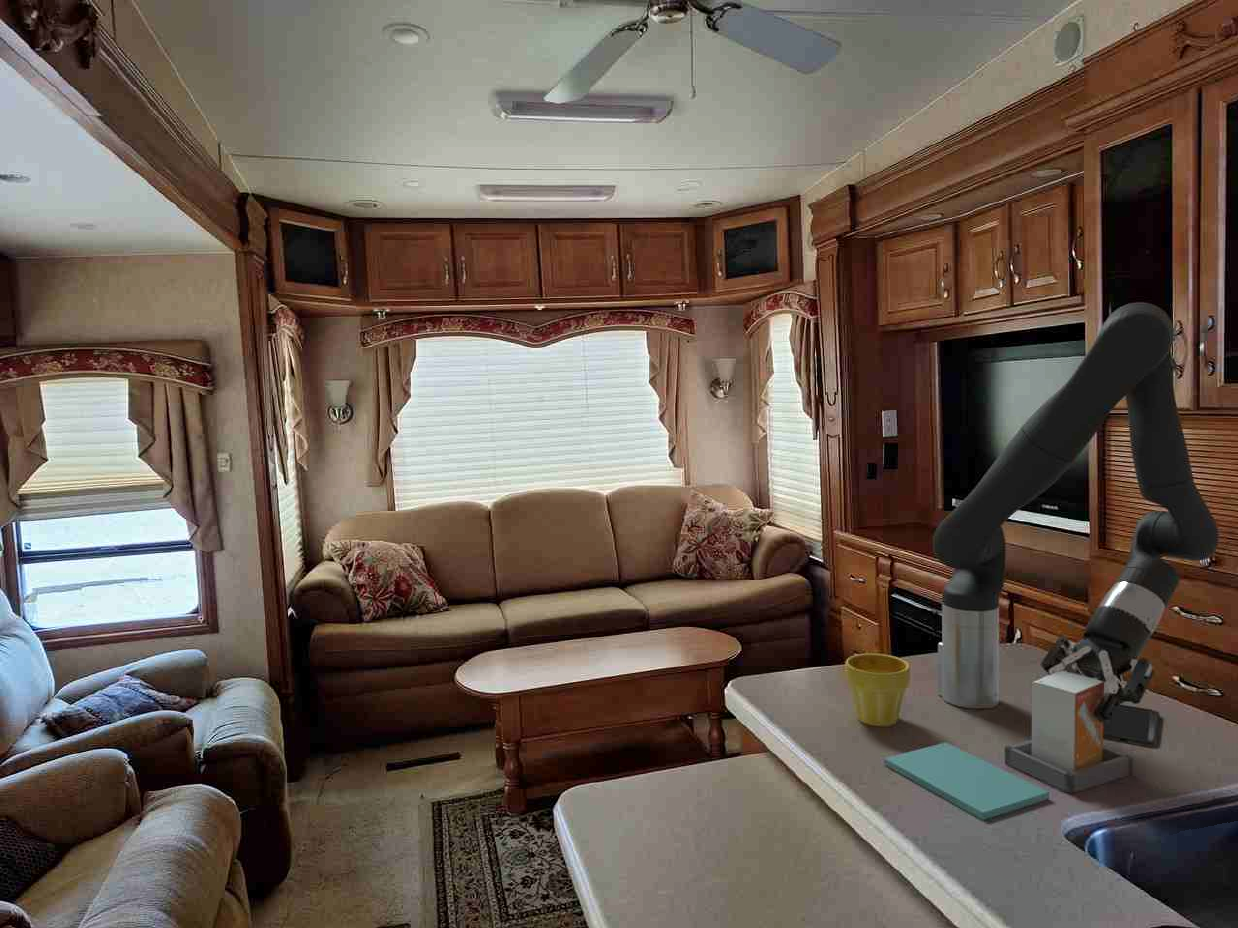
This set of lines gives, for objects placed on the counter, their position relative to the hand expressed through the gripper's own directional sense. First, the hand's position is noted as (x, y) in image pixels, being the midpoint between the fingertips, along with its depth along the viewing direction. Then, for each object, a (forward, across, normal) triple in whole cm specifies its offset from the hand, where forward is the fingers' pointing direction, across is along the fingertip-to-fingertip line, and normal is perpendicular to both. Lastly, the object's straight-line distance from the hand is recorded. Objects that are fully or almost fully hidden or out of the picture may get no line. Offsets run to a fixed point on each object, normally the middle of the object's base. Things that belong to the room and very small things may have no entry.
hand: (1071, 709), depth 117 cm
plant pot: (+14, -27, -2) cm, 31 cm away
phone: (-9, -6, +22) cm, 24 cm away
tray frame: (+7, 0, +6) cm, 9 cm away
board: (+18, -4, -6) cm, 19 cm away
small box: (+7, 0, +6) cm, 9 cm away
